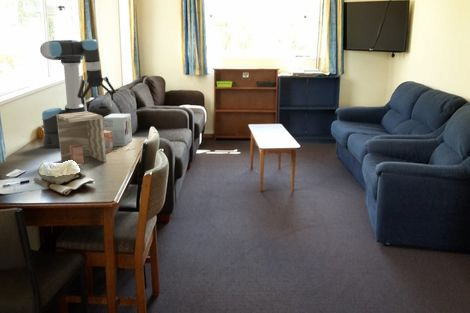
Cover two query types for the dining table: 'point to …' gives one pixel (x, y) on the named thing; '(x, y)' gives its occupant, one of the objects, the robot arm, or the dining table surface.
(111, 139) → the stack of blocks
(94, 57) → the robot arm
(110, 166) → the dining table surface
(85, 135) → the open side box
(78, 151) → the terracotta block
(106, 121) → the supplement box
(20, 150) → the dining table surface
